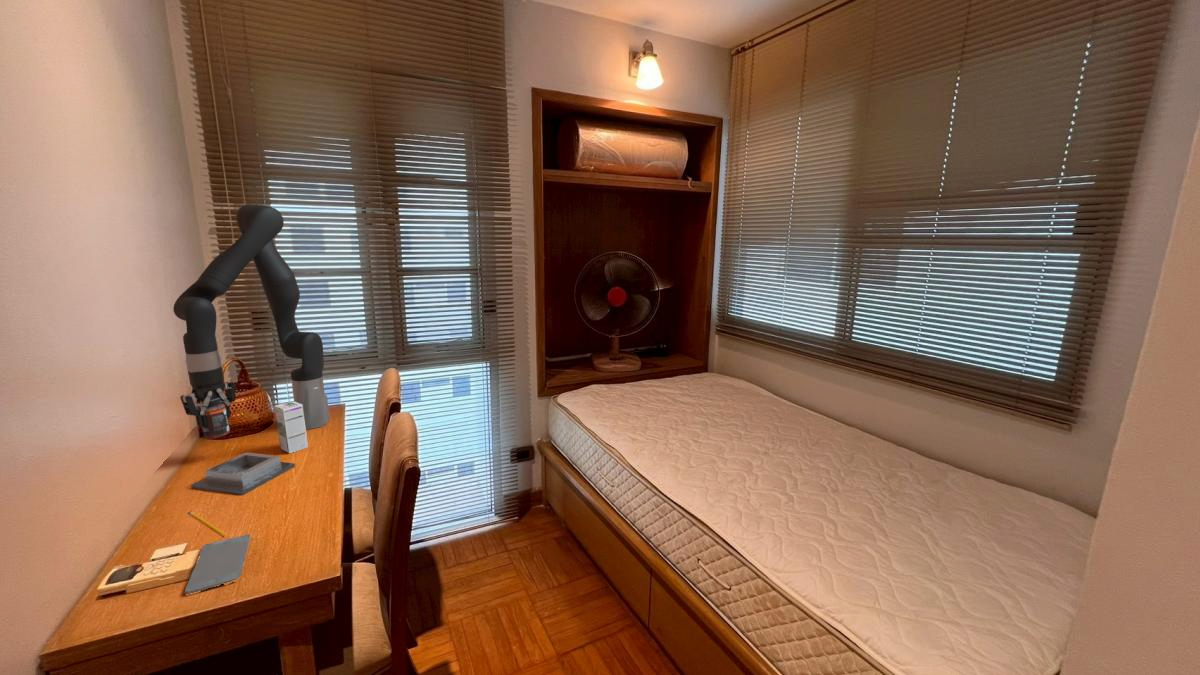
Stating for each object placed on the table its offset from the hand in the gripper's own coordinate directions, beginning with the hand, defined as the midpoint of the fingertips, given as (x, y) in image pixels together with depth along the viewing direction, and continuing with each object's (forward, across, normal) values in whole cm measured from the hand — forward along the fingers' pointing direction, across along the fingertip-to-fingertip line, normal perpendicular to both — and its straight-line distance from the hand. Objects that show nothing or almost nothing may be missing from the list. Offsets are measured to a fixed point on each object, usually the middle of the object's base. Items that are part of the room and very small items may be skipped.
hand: (214, 422), depth 136 cm
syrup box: (+12, -10, +15) cm, 22 cm away
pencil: (+11, +27, +30) cm, 42 cm away
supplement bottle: (+4, 0, 0) cm, 4 cm away
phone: (+11, +38, +46) cm, 60 cm away
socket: (+11, +8, +17) cm, 22 cm away
